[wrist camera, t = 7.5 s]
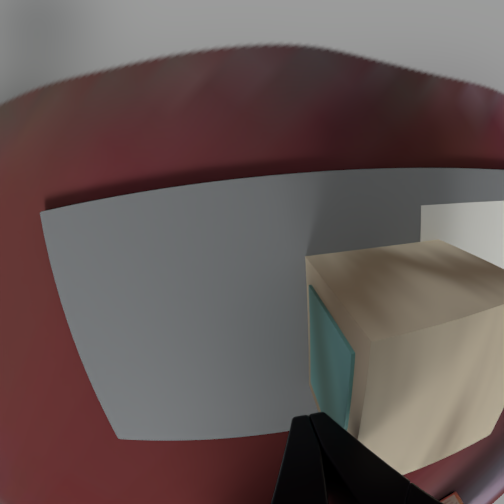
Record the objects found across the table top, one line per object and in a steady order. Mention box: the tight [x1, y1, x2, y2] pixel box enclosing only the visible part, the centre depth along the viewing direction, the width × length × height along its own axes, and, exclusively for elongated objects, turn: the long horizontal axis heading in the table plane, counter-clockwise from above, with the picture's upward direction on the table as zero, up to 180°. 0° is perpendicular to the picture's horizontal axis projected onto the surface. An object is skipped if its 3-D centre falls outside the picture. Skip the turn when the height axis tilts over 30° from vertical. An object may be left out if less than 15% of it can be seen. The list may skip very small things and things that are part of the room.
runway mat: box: [40, 168, 504, 440], centre depth 13 cm, size 26×12×1 cm, turn 96°
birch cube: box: [305, 239, 504, 475], centre depth 10 cm, size 6×6×6 cm
